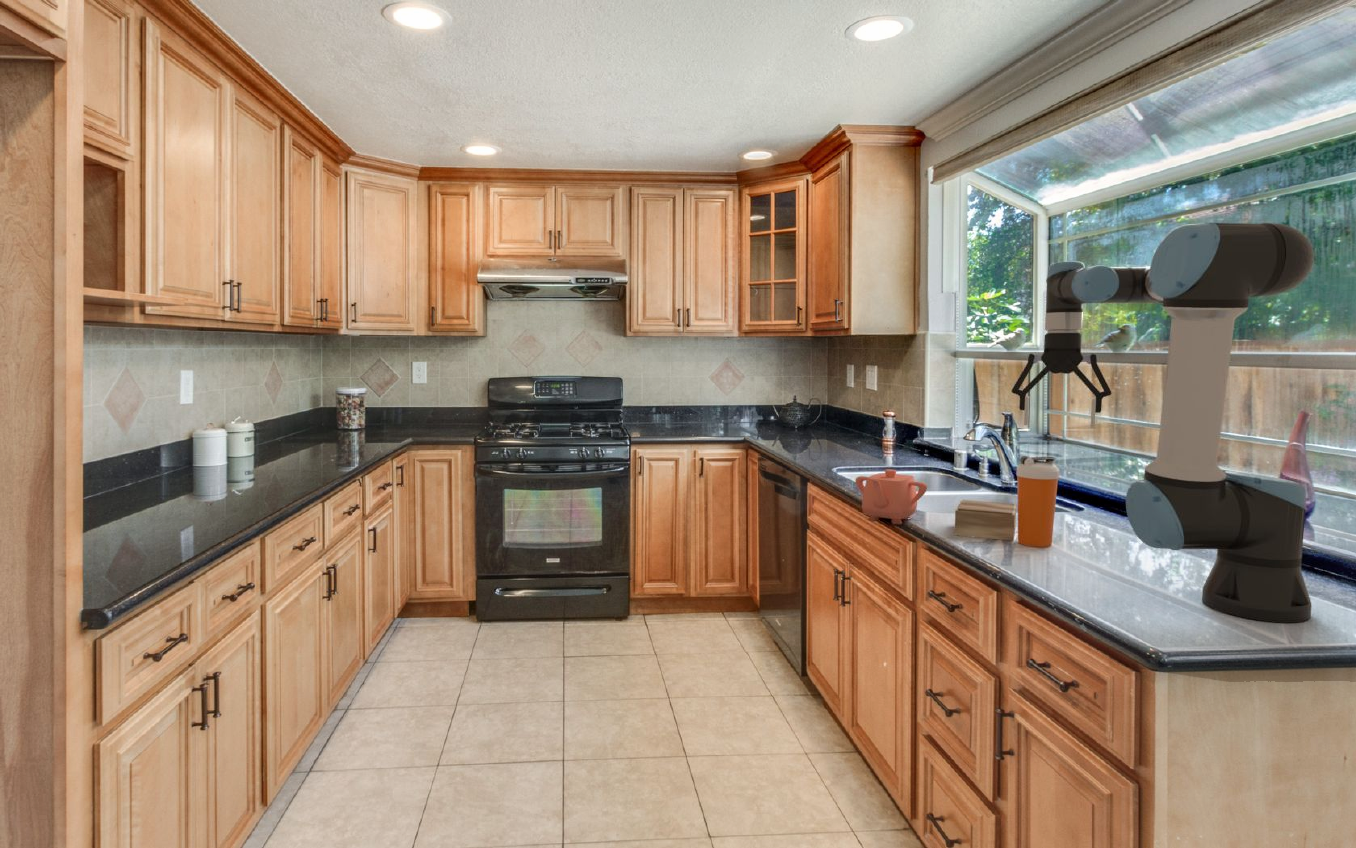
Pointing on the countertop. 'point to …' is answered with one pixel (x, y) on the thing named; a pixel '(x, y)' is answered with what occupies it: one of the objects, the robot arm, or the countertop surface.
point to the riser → (985, 520)
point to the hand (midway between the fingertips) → (1058, 426)
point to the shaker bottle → (1036, 500)
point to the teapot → (890, 495)
